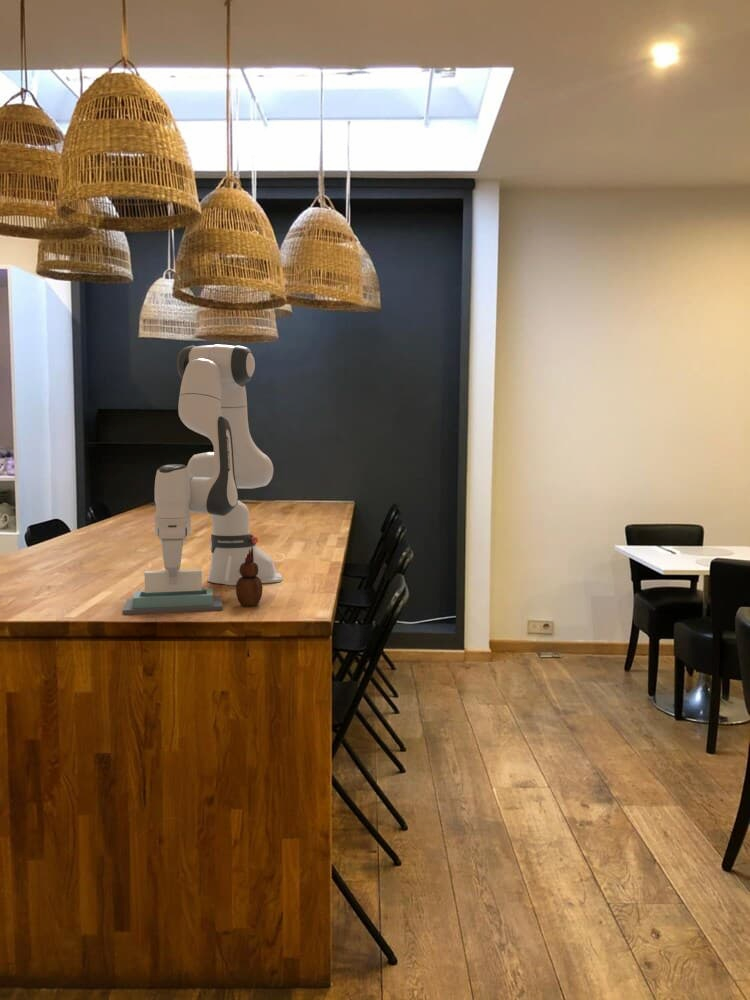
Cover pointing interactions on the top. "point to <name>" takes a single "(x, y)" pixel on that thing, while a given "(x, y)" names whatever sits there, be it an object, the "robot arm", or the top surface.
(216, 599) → the cradle jig
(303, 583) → the top surface
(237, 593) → the wooden figurine
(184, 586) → the long cream plank
